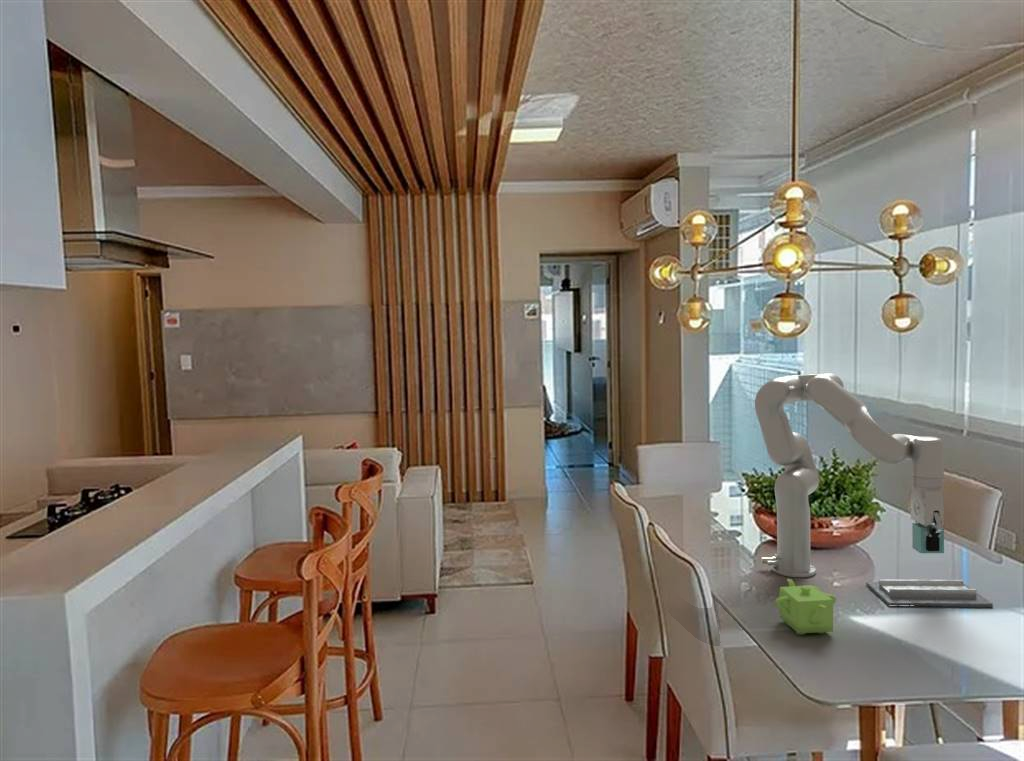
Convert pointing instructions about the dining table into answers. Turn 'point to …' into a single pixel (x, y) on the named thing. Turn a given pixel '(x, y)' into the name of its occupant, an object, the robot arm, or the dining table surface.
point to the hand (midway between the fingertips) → (927, 546)
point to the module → (924, 538)
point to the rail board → (928, 593)
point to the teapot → (806, 608)
